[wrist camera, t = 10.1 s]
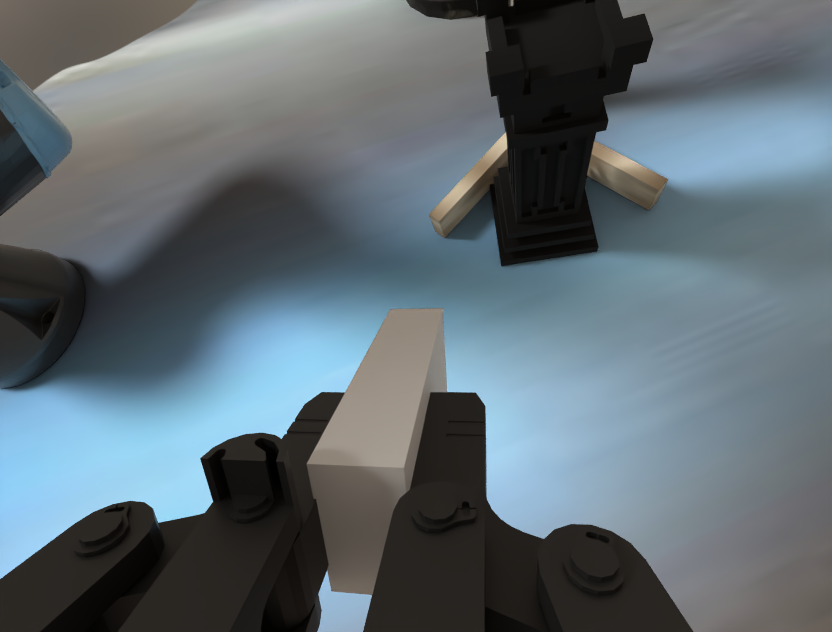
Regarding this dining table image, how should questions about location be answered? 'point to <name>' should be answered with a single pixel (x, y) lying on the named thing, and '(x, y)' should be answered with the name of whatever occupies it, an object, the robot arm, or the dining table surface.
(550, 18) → the chess piece
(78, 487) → the dining table surface
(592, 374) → the dining table surface
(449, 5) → the beer stein
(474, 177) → the centring cradle
